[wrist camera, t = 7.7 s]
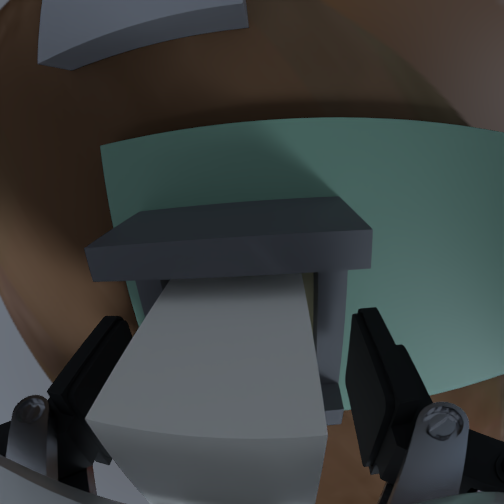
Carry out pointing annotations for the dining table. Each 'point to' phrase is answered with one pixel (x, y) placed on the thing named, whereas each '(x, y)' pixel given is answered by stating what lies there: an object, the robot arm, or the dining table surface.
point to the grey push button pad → (126, 26)
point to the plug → (219, 396)
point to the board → (325, 230)
